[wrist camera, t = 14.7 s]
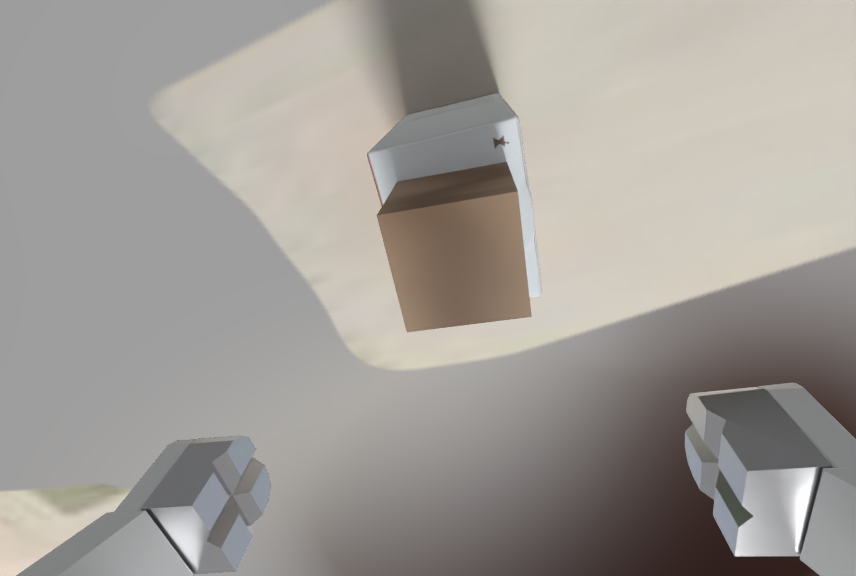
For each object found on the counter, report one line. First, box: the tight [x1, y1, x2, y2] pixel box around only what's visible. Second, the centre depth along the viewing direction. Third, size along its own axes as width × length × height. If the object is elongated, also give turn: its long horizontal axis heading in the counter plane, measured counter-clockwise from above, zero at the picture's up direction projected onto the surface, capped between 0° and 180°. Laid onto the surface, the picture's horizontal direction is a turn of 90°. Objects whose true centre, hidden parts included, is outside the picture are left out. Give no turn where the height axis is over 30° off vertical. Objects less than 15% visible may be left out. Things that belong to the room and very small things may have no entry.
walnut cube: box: [377, 162, 531, 332], centre depth 17 cm, size 4×4×4 cm
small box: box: [367, 93, 542, 298], centre depth 25 cm, size 8×6×13 cm
